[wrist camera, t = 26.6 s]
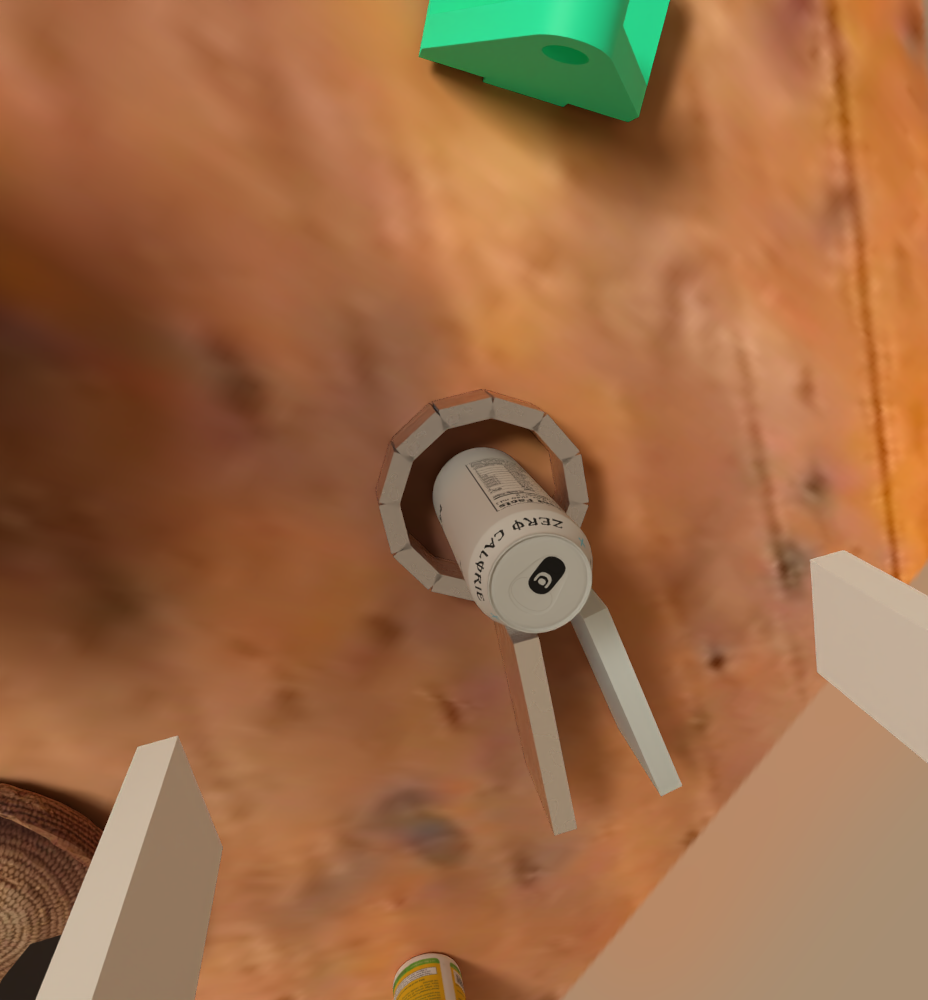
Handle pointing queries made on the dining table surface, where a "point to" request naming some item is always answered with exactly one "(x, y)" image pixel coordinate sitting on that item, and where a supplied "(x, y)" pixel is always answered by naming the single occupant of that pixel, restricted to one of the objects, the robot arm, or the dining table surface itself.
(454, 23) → the camera mount
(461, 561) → the energy drink can
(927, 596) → the robot arm
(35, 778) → the dining table surface
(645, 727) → the hinge leaf
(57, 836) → the basket
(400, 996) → the supplement bottle
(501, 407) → the hinge fixed
